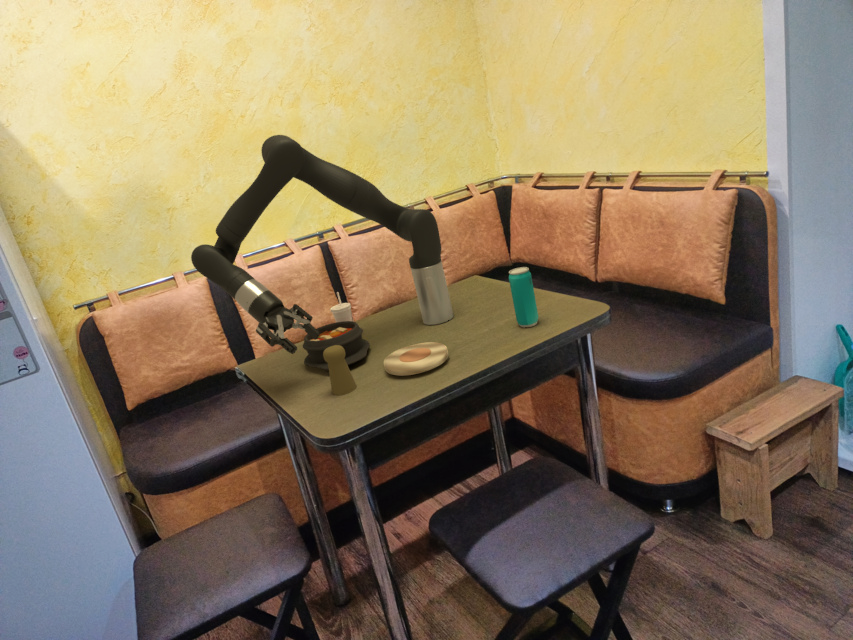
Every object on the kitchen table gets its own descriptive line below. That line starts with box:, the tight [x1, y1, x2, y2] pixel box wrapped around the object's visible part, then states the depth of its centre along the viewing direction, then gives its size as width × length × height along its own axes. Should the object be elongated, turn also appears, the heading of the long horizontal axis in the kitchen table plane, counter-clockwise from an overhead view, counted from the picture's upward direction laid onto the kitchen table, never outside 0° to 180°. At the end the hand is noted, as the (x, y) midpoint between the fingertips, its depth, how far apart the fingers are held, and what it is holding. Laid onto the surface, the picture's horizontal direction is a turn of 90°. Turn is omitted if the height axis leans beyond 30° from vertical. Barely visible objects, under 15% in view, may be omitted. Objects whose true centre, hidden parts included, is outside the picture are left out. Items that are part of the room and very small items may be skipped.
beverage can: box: [508, 266, 539, 329], centre depth 155 cm, size 6×6×15 cm
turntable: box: [383, 341, 449, 376], centre depth 148 cm, size 16×16×3 cm
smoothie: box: [330, 291, 353, 323], centre depth 181 cm, size 6×6×14 cm
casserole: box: [302, 320, 371, 371], centre depth 164 cm, size 25×19×8 cm
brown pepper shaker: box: [323, 345, 357, 396], centre depth 142 cm, size 6×6×11 cm
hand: (306, 343), depth 144 cm, fingers open, 8 cm apart
